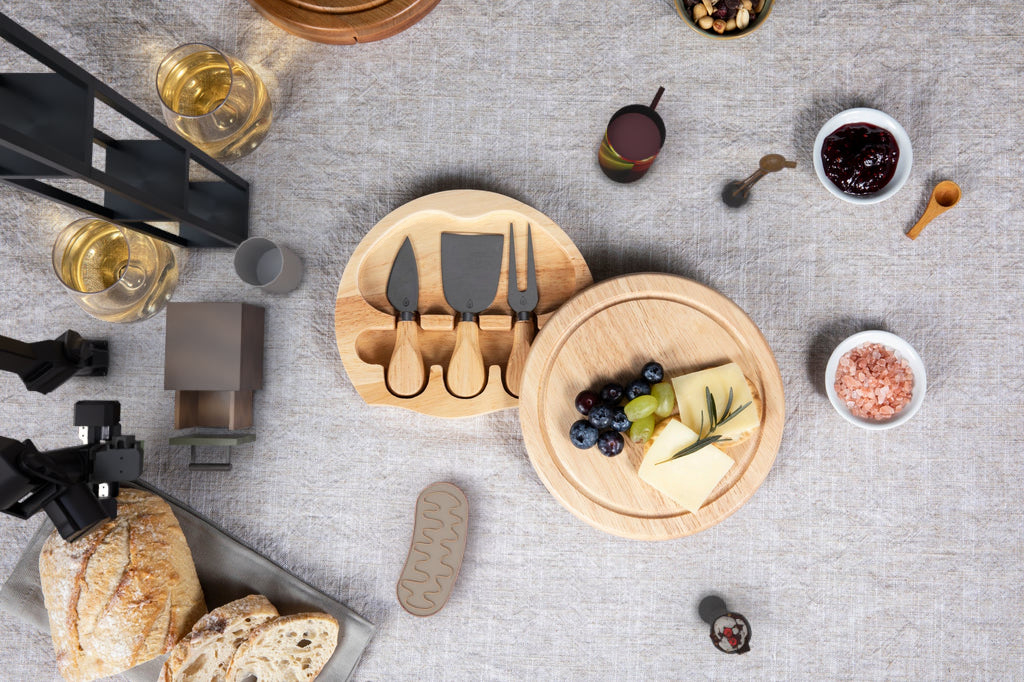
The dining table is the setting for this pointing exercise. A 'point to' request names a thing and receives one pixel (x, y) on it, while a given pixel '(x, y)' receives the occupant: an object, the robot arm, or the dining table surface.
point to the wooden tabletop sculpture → (753, 180)
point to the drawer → (212, 422)
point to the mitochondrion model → (434, 550)
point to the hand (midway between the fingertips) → (127, 454)
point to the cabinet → (213, 346)
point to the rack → (110, 155)
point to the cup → (267, 265)
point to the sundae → (725, 626)
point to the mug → (632, 141)
